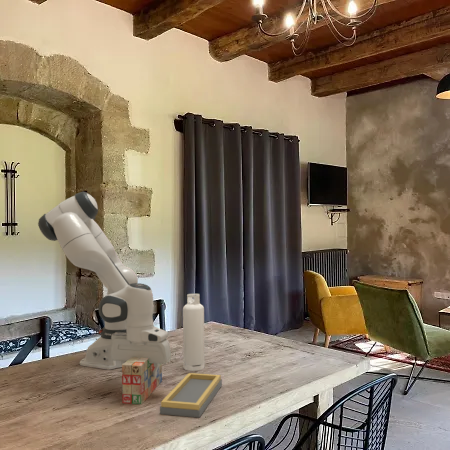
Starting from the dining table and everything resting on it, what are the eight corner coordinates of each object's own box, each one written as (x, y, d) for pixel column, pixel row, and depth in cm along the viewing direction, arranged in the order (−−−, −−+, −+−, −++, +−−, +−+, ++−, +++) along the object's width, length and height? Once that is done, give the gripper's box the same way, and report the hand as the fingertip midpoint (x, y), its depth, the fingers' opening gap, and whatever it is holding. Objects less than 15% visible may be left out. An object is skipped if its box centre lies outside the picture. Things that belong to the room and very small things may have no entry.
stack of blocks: (145, 380, 166) (144, 345, 166) (162, 381, 165) (162, 346, 164) (122, 403, 145) (121, 364, 144) (141, 404, 143) (141, 364, 143)
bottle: (179, 369, 177) (178, 295, 177) (189, 363, 185) (189, 292, 184) (198, 372, 174) (197, 296, 174) (208, 365, 181) (207, 293, 181)
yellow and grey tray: (159, 414, 136) (159, 402, 136) (188, 382, 162) (188, 372, 162) (199, 417, 133) (199, 405, 133) (221, 385, 160) (221, 374, 160)
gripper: (106, 333, 153) (107, 375, 153) (165, 337, 148) (165, 380, 148) (115, 329, 159) (116, 370, 159) (172, 332, 154) (172, 374, 154)
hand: (140, 375), depth 154 cm, fingers open, 8 cm apart
